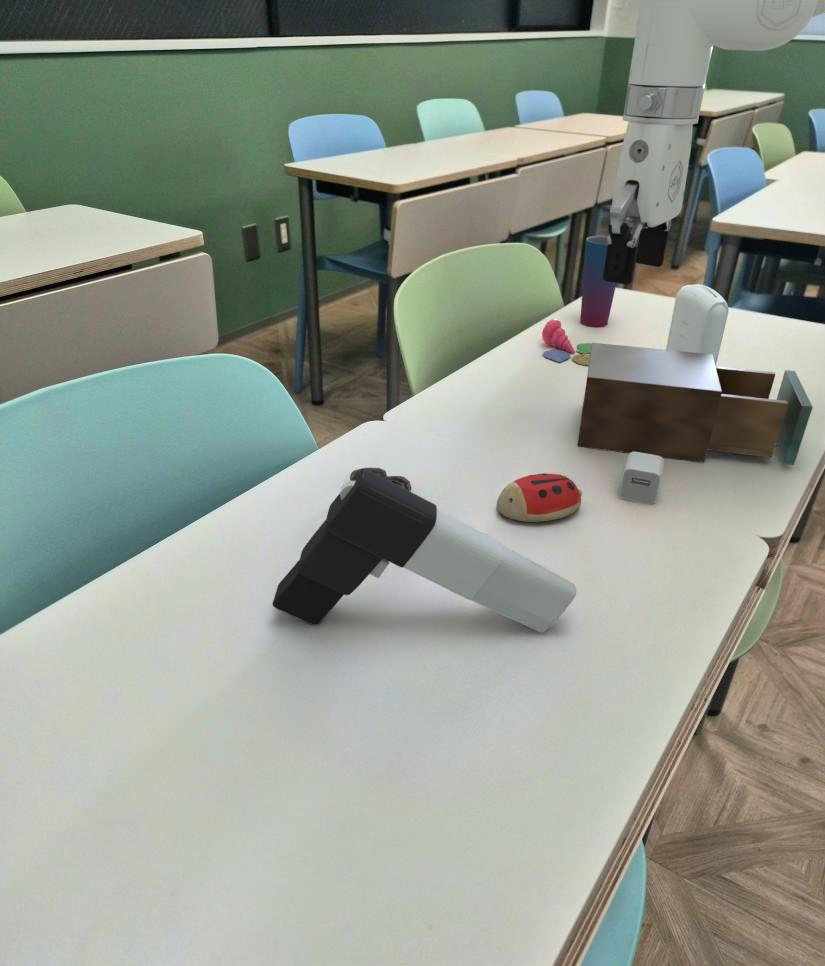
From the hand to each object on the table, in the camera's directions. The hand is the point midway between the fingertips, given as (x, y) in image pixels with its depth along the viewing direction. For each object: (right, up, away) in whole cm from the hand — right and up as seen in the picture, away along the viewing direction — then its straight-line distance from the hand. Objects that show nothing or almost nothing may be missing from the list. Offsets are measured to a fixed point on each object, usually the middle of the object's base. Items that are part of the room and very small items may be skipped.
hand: (633, 273), depth 84 cm
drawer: (+16, -18, +11) cm, 27 cm away
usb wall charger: (+1, -25, +2) cm, 25 cm away
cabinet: (+5, -17, +14) cm, 23 cm away
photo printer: (+20, -5, +36) cm, 41 cm away
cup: (+8, +6, +52) cm, 53 cm away
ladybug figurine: (-11, -27, -3) cm, 30 cm away
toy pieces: (+1, -2, +39) cm, 39 cm away
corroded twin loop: (-29, -25, 0) cm, 38 cm away
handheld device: (-24, -36, -18) cm, 48 cm away
